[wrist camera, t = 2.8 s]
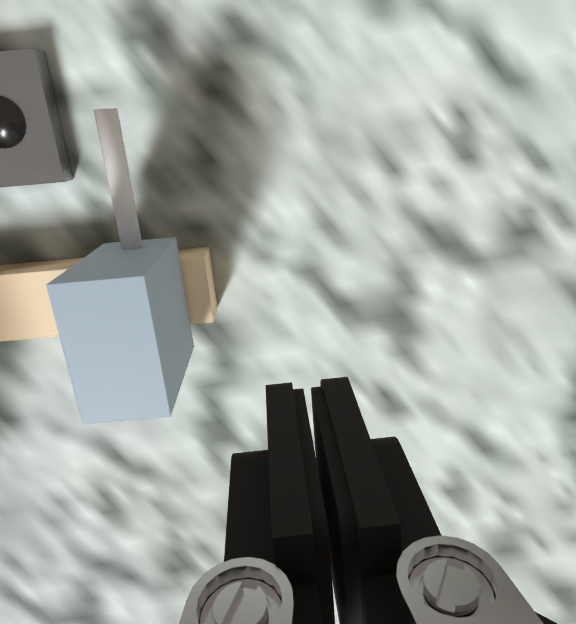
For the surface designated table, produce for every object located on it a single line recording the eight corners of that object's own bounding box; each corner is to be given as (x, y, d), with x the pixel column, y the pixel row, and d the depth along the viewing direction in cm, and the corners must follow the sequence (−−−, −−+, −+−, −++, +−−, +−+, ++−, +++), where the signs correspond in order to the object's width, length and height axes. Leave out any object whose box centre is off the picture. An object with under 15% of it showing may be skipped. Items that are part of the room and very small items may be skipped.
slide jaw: (155, 107, 19) (110, 98, 13) (193, 346, 22) (170, 416, 17) (76, 114, 19) (-1, 108, 13) (127, 352, 22) (82, 424, 17)
